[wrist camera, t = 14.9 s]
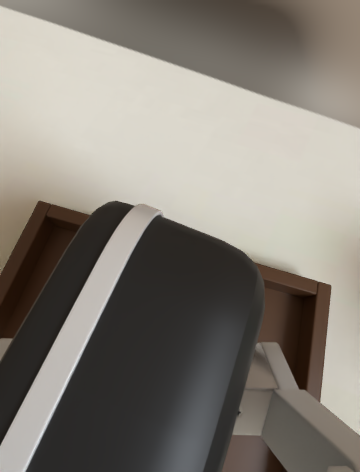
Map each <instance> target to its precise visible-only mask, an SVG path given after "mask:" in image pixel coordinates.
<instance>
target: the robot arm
mask: <svg viewBox="0 0 360 472" xmlns="http://www.w3.org/2000/svg"><path fill="white" fill-rule="evenodd" d="M11 341H12V339H9V338H1V339H0V360H1V358H2V357H3V355H4V353H5V351H6V350H7V348H8V346H9V344H10V343H11ZM232 435H255V436H261V438H262V439H263V440H264V442H265V443H266V444H267V446H268V447H269V448H270V449H271V451H272V452H273V453H274V455H275V456H276V457H277V459H278V460H279V461H280V462H281V464H282V465H283V466H284V468H285V469H286V470H287V472H360V436H359V435H358V434H357V433H356V432H355V431H353V430H352V429H351V428H350V427H349V426H347V425H346V424H345V423H344V422H343V421H341V420H340V419H339V418H338V417H337V416H335V415H334V414H333V413H332V412H331V411H329V410H328V409H327V408H326V407H325V406H323V405H322V404H321V403H320V402H319V401H317V400H316V399H315V398H314V397H313V396H311V395H310V394H309V393H308V392H307V391H305V390H299V388H298V386H297V384H296V381H295V379H294V377H293V375H292V373H291V370H290V368H289V366H288V364H287V362H286V359H285V357H284V355H283V353H282V351H281V348H280V346H279V344H278V343H276V342H257V345H256V348H255V352H254V356H253V359H252V363H251V367H250V370H249V374H248V378H247V381H246V385H245V389H244V392H243V396H242V400H241V403H240V407H239V411H238V414H237V418H236V422H235V426H234V429H233V433H232Z"/></svg>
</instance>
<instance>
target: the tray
mask: <svg viewBox="0 0 360 472" xmlns="http://www.w3.org/2000/svg"><path fill="white" fill-rule="evenodd" d="M89 216H90V215H87V214H84V213H80V212H77V211H74V210H70V209H67V208H63V207H60V206H56V205H53V204H52V205H51V204H49V203H45V202H42V201H38V203H37V205H36V207H35V209H34V211H33V213H32V215H31V217H30V219H29V221H28V223H27V225H26V227H25V228H24V230H23V232H22V234H21V236H20V238H19V240H18V242H17V244H16V246H15V248H14V250H13V252H12V254H11V256H10V258H9V260H8V261H7V263H6V265H5V267H4V269H3V271H2V273H1V275H0V339H1V338H9V339H13V338H14V336H15V334H16V333H17V331H18V329H19V327H20V326H21V324H22V322H23V321H24V319H25V317H26V316H27V314H28V312H29V310H30V309H31V307H32V305H33V304H34V302H35V300H36V299H37V297H38V295H39V293H40V292H41V290H42V288H43V287H44V285H45V283H46V282H47V280H48V278H49V276H50V275H51V273H52V271H53V270H54V268H55V266H56V265H57V263H58V261H59V259H60V258H61V256H62V254H63V253H64V251H65V249H66V248H67V246H68V245H69V243H70V242H71V240H72V239H73V237H74V236H75V234H76V233H77V231H78V230H79V228H80V226H81V225H82V224H83V223H84V222H85V221H86V220H87V219H88V218H89ZM255 264H256V265H257V266H258V269H259V271H260V273H261V276H262V278H263V280H264V289H265V311H264V316H263V321H262V325H261V329H260V333H259V337H258V341H257V342H276V343H278V344H279V346H280V348H281V351H282V353H283V355H284V357H285V359H286V362H287V364H288V366H289V368H290V370H291V373H292V375H293V377H294V379H295V381H296V384H297V386H298V388H299V390H305V391H307V392H308V393H309V394H310V395H311V396H313V397H314V398H315V399H316V400H317V401H319V402H320V397H321V387H322V377H323V367H324V357H325V346H326V336H327V326H328V316H329V305H330V295H331V285H329V284H325V283H322V282H318V281H315V280H312V279H308V278H305V277H301V276H298V275H294V274H291V273H288V272H284V271H281V270H277V269H274V268H270V267H267V266H263V265H260V264H257V263H255ZM222 472H287V470H286V469H285V468H284V466H283V465H282V464H281V462H280V461H279V460H278V459H277V457H276V456H275V455H274V453H273V452H272V451H271V449H270V448H269V447H268V446H267V444H266V443H265V442H264V440H263V439H262V438H261V436H255V435H232V437H231V440H230V444H229V447H228V451H227V454H226V458H225V462H224V465H223V469H222Z"/></svg>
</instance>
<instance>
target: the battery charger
mask: <svg viewBox="0 0 360 472" xmlns="http://www.w3.org/2000/svg"><path fill="white" fill-rule="evenodd" d="M264 311H265V289H264V280H263V278H262V276H261V273H260V271H259V269H258V266H257V265H256V264H255V263H254V262H253V261H252V260H251V259H250V258H249V257H248V256H247V255H246V254H245V253H244V252H243V251H241V250H239V249H237V248H236V247H234V246H232V245H230V244H228V243H226V242H224V241H222V240H220V239H217V238H215V237H212V236H210V235H207V234H205V233H202V232H200V231H197V230H195V229H192V228H189V227H187V226H184V225H182V224H179V223H177V222H174V221H172V220H169V219H167V218H164V216H163V213H162V212H161V211H160V210H158V209H155V208H153V207H150V206H148V205H145V204H138V205H136V206H133V205H130V204H126V203H122V202H118V201H113V202H108V203H106V204H105V205H103V206H101V207H99V208H98V209H96V210H95V211H94V212H93V213H92V214H91V215H90V216H89V218H88V219H87V220H86V221H85V222H84V223H83V224H82V225H81V226H80V228H79V230H78V231H77V233H76V234H75V236H74V237H73V239H72V240H71V242H70V243H69V245H68V246H67V248H66V249H65V251H64V253H63V254H62V256H61V258H60V259H59V261H58V263H57V265H56V266H55V268H54V270H53V271H52V273H51V275H50V276H49V278H48V280H47V282H46V283H45V285H44V287H43V288H42V290H41V292H40V293H39V295H38V297H37V299H36V300H35V302H34V304H33V305H32V307H31V309H30V310H29V312H28V314H27V316H26V317H25V319H24V321H23V322H22V324H21V326H20V327H19V329H18V331H17V333H16V334H15V336H14V338H13V339H12V341H11V343H10V344H9V346H8V348H7V350H6V351H5V353H4V355H3V357H2V358H1V360H0V472H222V469H223V465H224V462H225V458H226V454H227V451H228V447H229V444H230V440H231V437H232V433H233V429H234V426H235V422H236V418H237V414H238V411H239V407H240V403H241V400H242V396H243V392H244V389H245V385H246V381H247V378H248V374H249V370H250V367H251V363H252V359H253V356H254V352H255V348H256V345H257V341H258V337H259V333H260V329H261V325H262V321H263V316H264Z"/></svg>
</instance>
